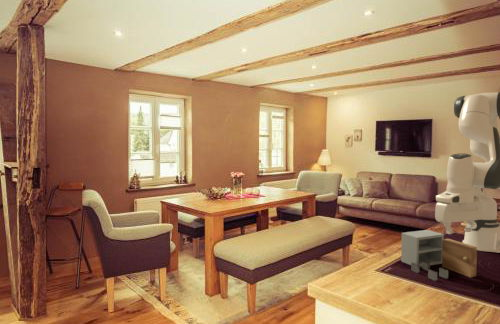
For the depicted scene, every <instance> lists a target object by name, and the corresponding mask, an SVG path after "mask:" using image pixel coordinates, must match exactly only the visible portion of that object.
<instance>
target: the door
mask: <svg viewBox="0 0 500 324" xmlns="http://www.w3.org/2000/svg"><path fill="white" fill-rule="evenodd" d="M477 252H478V250H477V247H475V246H472V245H469V244H465V243H463V242H462V241H457V240H454V239H451V238H444V239H442V265H441V268H444V269H446V270H450V271H453V272H455V273H458V274H460V275H463V276H466V277H469V278H474V277H477V261H478V260H477V258H478V255H477V254H478V253H477Z"/></svg>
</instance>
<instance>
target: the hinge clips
mask: <svg viewBox="0 0 500 324" xmlns="http://www.w3.org/2000/svg"><path fill="white" fill-rule="evenodd" d="M410 266H411V267H410V271H412V272H413V273H416V274H419V273H420V267H419V265H418V264H416V263H411V265H410ZM421 270H424V271H426V272H427V278H428V279H430V280H432V281H434V282H436V281H438V276H439V277H441V278H442V279H446V280H448V279H449V269H447V268H444V267H439V268H438V271H435V270H432V269H431V265H430V263H428V262H425V261H422V267H421Z"/></svg>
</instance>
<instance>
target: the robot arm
mask: <svg viewBox="0 0 500 324" xmlns="http://www.w3.org/2000/svg"><path fill="white" fill-rule="evenodd" d="M452 111H453V113H454V116H455V117H456V118H458V131H459V133H461V135H463V137H465V138H467V139H469V151H470V152H471V154H469V153H453V154H451V155H449V157H448V160H447V165H446V166H447V168H446V180H447V183H446V184H447V185H446V189H445V191H443V192H441V193H439V194H438V195H435V201H436V204H435V207H434V208H435V210H434V211H435V212H434V218H435V221H436V222H438V223H441V224H443V226H444V227H445V234H448V235H453V234H454V229H453V228H452V223H458V222H466V226H464V239H462V241H461V242H462V243H465V244H469V245H472V246H475V247H477V251H479V252H489V253H490V252H491V253H498V254H499V253H500V218H497V217H498V215H497V213H498V204H497V201H496V200H495V199H494V198H492V197H491V196H490V195H486V194H485V193H484V192H483V191H482V189H491V190H500V128H499V127H500V125H499V120H500V91H498V92H481V93H475V94H470V95H462V96H459V97H457V98H456V99H455V100H454V102H453V106H452ZM472 154H473V155H474V156H476V157H478V158H481V159H482V160H484V162H479V161H478V162H475V161H474V159H473V155H472Z"/></svg>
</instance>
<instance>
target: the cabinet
mask: <svg viewBox="0 0 500 324" xmlns="http://www.w3.org/2000/svg"><path fill="white" fill-rule="evenodd" d="M444 236H445V235H444V233H442V232H441V233H440V232H437V231H433V230H429V229H424V230H423V229H422V230H415V231H414V230H413V231H406V232H401V244H400V245H401V249H400V251H401V255H400V258H401V259H400V261H401V262H402V263H405V264H406V265H409V266H411V263H416V264H418V265H419V268H422V261H425V262H428V263H430V266H434V265H441V264H442V239H445V237H444Z"/></svg>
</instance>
